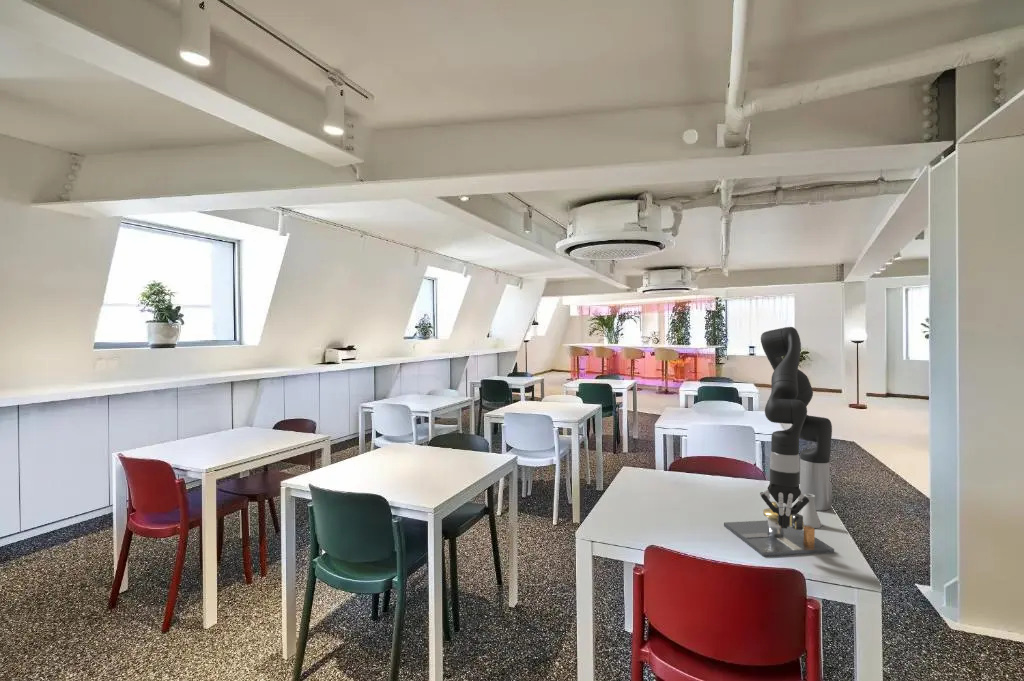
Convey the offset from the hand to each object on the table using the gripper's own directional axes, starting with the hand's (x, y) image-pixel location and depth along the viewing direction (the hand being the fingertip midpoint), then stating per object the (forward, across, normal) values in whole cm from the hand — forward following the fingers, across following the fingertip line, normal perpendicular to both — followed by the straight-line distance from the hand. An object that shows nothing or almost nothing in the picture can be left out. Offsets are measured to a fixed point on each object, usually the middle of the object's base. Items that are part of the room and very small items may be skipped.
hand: (783, 527), depth 144 cm
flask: (+8, -14, -28) cm, 32 cm away
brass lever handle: (+1, -2, -9) cm, 9 cm away
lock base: (+8, -1, -13) cm, 15 cm away
